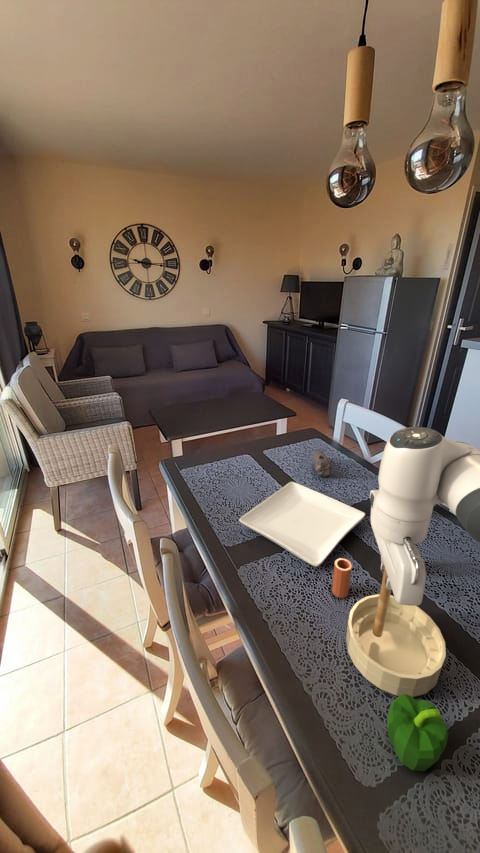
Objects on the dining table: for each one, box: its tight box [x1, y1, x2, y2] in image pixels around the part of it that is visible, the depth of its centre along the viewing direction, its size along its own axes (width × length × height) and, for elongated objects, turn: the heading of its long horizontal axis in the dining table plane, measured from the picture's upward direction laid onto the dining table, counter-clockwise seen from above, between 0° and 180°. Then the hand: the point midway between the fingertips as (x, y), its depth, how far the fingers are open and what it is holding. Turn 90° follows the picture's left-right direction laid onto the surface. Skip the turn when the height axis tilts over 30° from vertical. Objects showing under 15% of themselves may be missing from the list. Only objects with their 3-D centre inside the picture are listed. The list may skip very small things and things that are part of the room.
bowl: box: [345, 593, 447, 698], centre depth 71 cm, size 17×17×6 cm
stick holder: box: [331, 557, 353, 599], centre depth 84 cm, size 4×4×8 cm
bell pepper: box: [386, 694, 450, 772], centre depth 55 cm, size 8×8×10 cm
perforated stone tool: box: [311, 449, 332, 478], centre depth 135 cm, size 15×5×7 cm, turn 1°
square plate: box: [238, 481, 366, 568], centre depth 106 cm, size 27×27×4 cm
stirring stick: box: [373, 569, 392, 637], centre depth 69 cm, size 2×2×20 cm
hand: (388, 579), depth 67 cm, fingers closed on stirring stick, 2 cm apart
